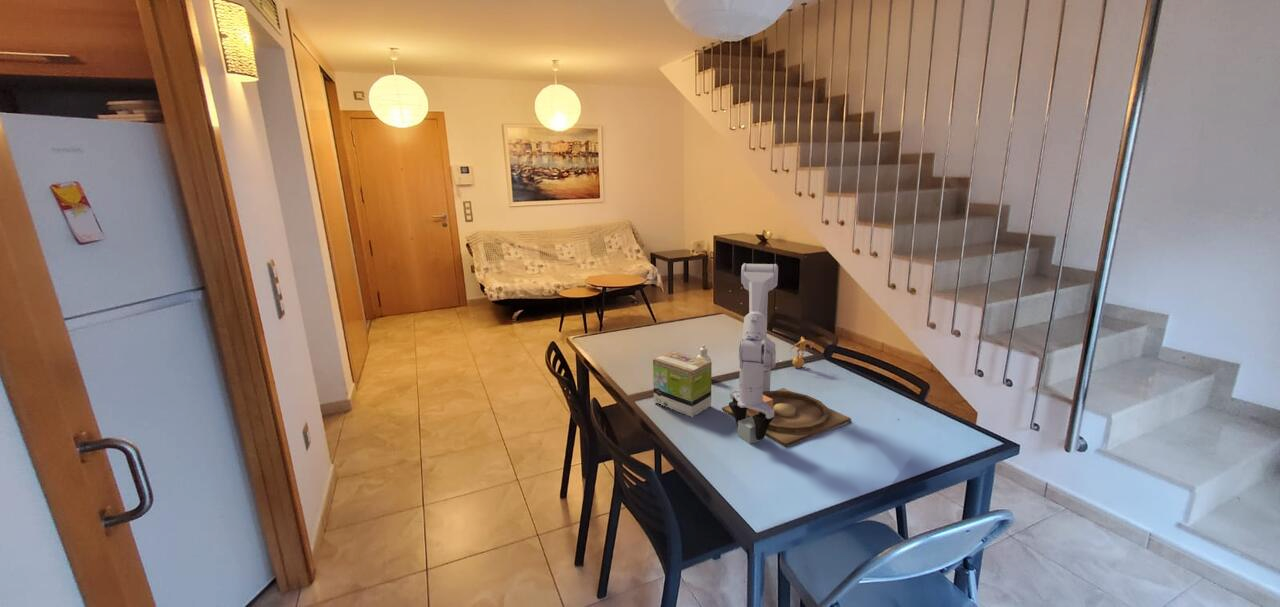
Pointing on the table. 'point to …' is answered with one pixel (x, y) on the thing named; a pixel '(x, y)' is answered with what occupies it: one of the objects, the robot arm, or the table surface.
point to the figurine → (799, 361)
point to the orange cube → (766, 400)
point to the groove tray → (797, 417)
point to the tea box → (682, 382)
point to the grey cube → (747, 430)
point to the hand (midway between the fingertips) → (750, 432)
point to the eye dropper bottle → (703, 354)
